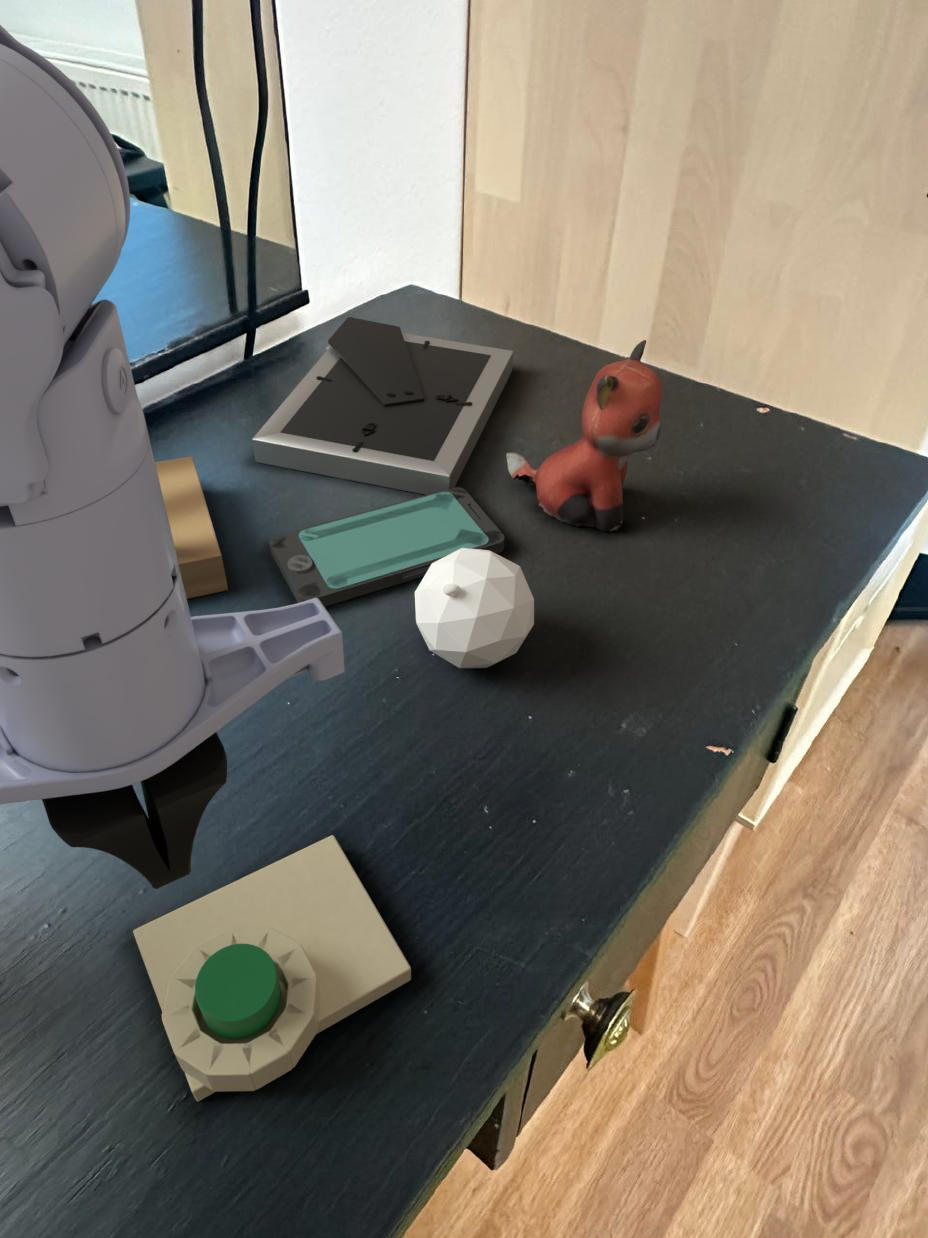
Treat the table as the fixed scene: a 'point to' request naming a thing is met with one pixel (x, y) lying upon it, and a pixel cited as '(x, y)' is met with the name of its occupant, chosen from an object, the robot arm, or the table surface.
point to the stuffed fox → (599, 447)
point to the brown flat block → (191, 528)
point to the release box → (302, 953)
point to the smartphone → (381, 546)
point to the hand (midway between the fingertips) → (164, 860)
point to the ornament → (474, 608)
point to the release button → (238, 991)
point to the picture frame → (387, 409)
